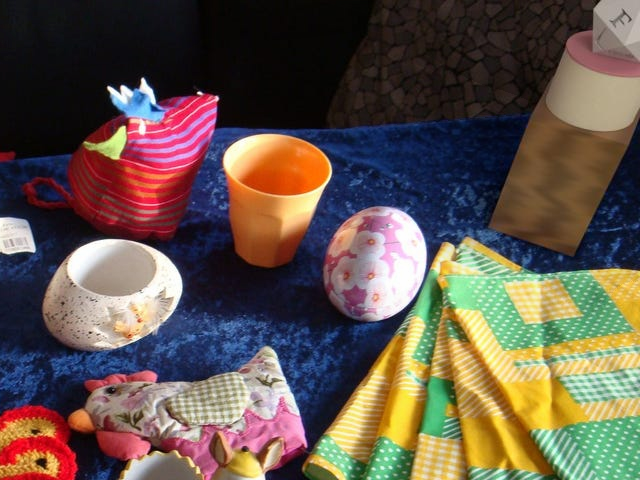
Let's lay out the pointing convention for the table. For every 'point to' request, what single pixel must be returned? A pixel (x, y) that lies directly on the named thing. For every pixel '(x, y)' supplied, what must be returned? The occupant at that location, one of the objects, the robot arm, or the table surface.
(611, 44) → the die
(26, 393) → the table surface
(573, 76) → the yogurt
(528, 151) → the brown piece
